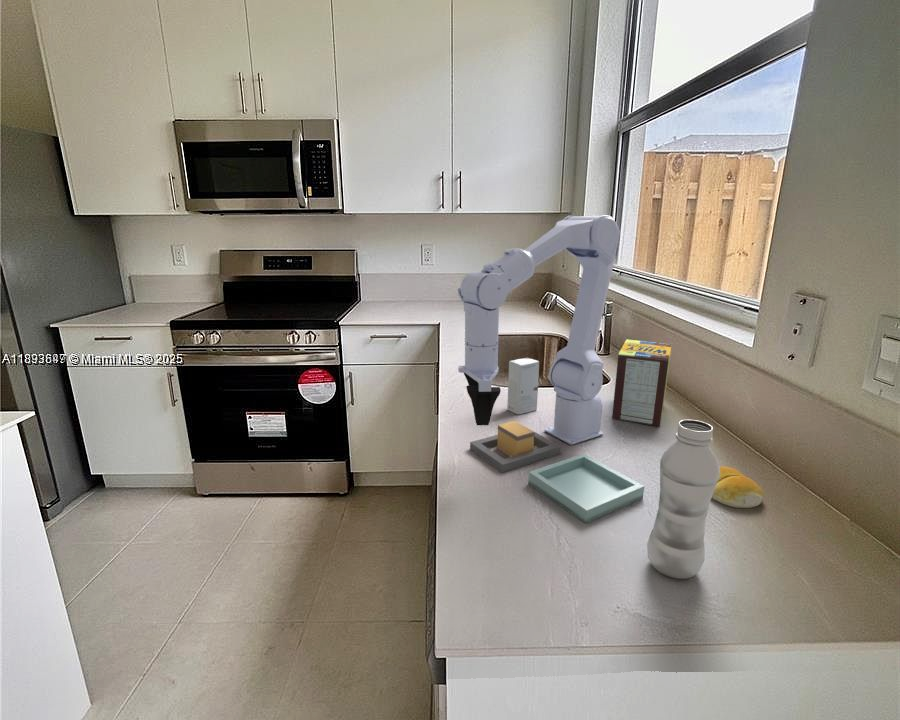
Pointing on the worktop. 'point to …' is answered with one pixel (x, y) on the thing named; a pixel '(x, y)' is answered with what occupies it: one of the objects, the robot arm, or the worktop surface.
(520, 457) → the grey rectangular frame
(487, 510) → the worktop surface
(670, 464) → the plastic bottle
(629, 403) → the protein box
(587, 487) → the parts tray
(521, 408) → the skincare box
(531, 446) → the tan box
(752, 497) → the bread roll
